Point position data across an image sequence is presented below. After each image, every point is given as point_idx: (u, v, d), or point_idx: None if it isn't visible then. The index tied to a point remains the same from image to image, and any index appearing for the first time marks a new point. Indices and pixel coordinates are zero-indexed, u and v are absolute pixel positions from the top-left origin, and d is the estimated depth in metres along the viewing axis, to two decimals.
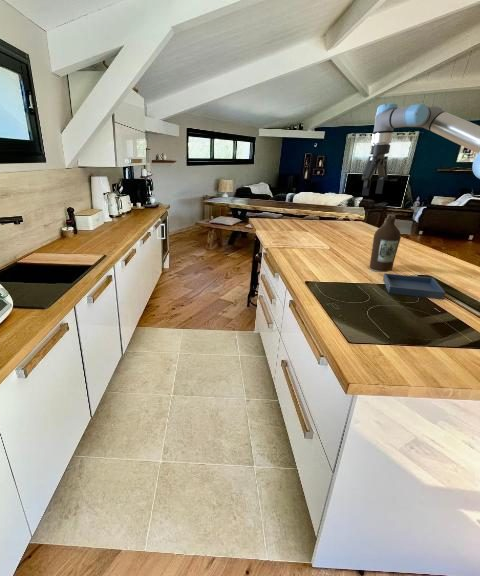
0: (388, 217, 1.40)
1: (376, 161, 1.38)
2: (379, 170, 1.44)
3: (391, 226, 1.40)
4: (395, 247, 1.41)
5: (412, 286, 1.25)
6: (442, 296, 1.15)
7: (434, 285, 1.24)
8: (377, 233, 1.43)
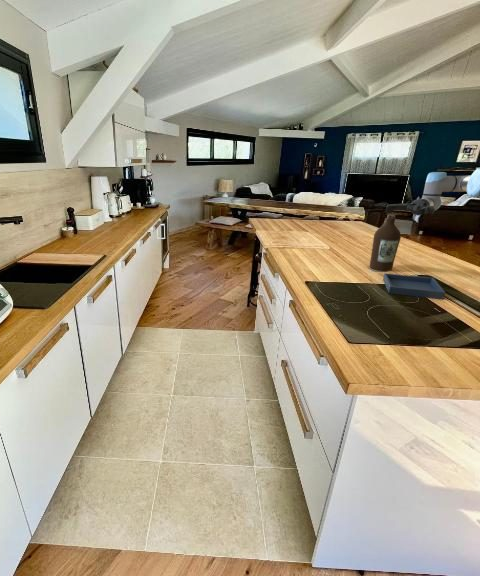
0: (388, 217, 1.40)
1: None
2: None
3: (391, 226, 1.40)
4: (395, 247, 1.41)
5: (412, 286, 1.25)
6: (442, 296, 1.15)
7: (434, 285, 1.24)
8: (377, 233, 1.43)
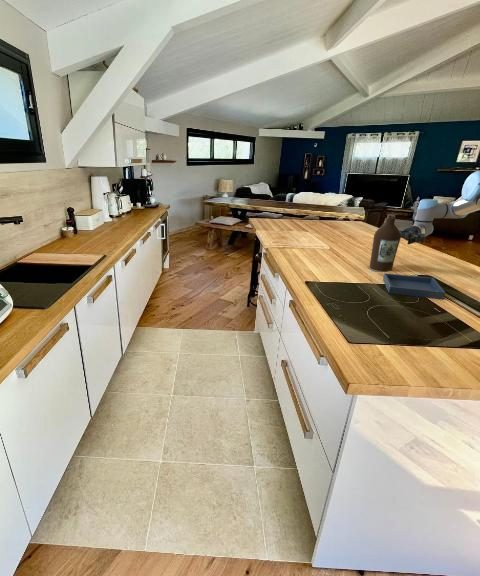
0: (388, 217, 1.40)
1: (400, 231, 1.58)
2: None
3: (391, 226, 1.40)
4: (395, 247, 1.41)
5: (412, 286, 1.25)
6: (442, 296, 1.15)
7: (434, 285, 1.24)
8: (377, 233, 1.43)
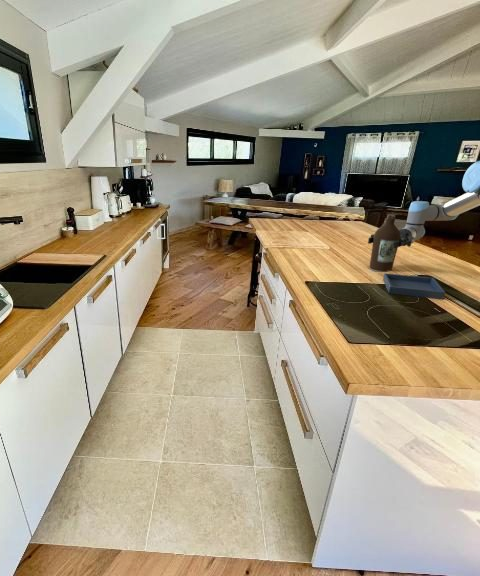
0: (388, 217, 1.40)
1: None
2: None
3: (391, 226, 1.40)
4: None
5: (412, 286, 1.25)
6: (442, 296, 1.15)
7: (434, 285, 1.24)
8: (377, 233, 1.43)
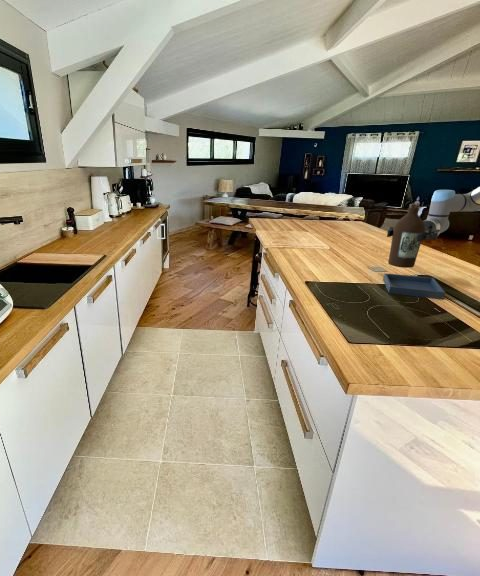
0: (411, 206, 1.24)
1: None
2: None
3: (414, 216, 1.23)
4: None
5: (412, 286, 1.25)
6: (442, 296, 1.15)
7: (434, 285, 1.24)
8: (398, 225, 1.26)
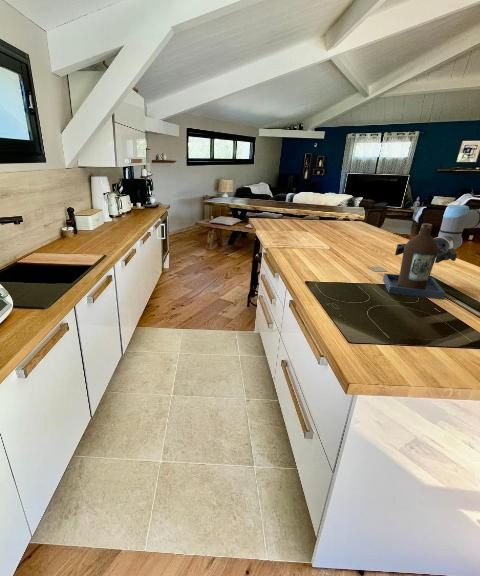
0: (423, 226, 1.16)
1: None
2: (439, 253, 1.21)
3: (427, 237, 1.16)
4: (431, 263, 1.17)
5: None
6: (442, 296, 1.15)
7: (434, 285, 1.24)
8: (409, 245, 1.19)
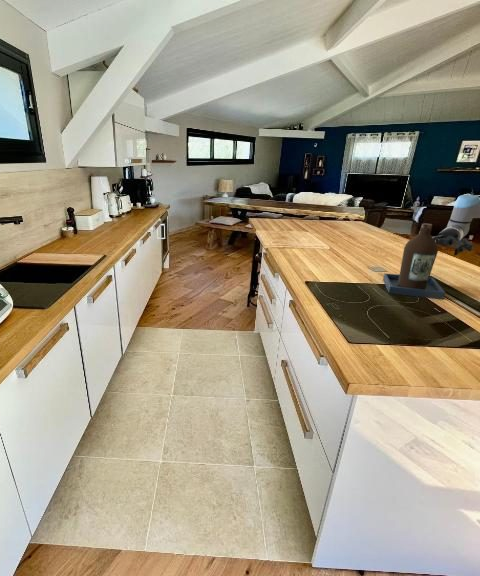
0: (423, 226, 1.16)
1: None
2: (454, 244, 1.27)
3: (427, 237, 1.16)
4: (431, 263, 1.17)
5: None
6: (442, 296, 1.15)
7: (434, 285, 1.24)
8: (409, 245, 1.19)
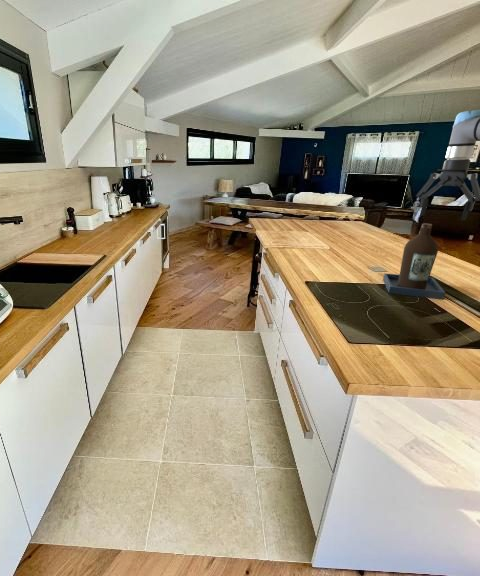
0: (423, 226, 1.16)
1: (440, 179, 1.19)
2: None
3: (427, 237, 1.16)
4: (431, 263, 1.17)
5: None
6: (442, 296, 1.15)
7: (434, 285, 1.24)
8: (409, 245, 1.19)
